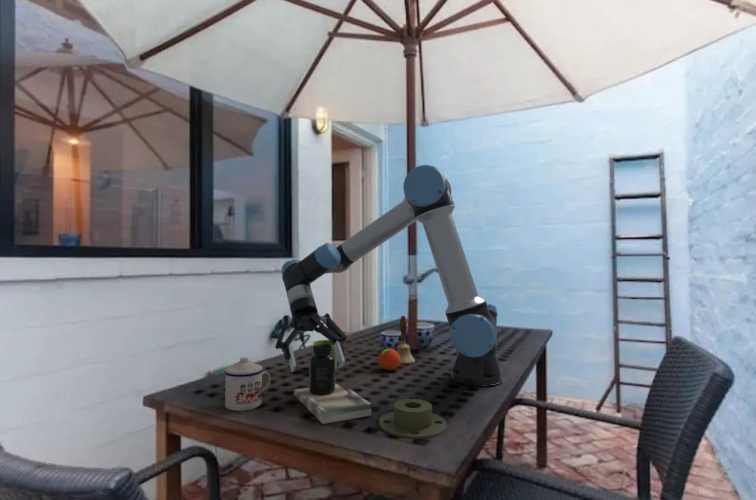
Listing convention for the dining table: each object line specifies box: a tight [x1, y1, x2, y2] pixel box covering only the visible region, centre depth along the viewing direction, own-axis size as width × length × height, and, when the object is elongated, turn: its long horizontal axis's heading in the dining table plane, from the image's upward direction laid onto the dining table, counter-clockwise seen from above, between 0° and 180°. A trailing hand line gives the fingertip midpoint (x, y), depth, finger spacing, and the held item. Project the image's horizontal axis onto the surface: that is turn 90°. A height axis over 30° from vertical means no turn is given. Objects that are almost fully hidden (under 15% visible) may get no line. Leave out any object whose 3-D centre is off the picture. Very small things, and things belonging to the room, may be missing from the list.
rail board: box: [293, 383, 372, 425], centre depth 108 cm, size 22×12×3 cm, turn 27°
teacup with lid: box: [224, 356, 272, 412], centre depth 108 cm, size 12×9×12 cm
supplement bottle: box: [308, 344, 336, 395], centre depth 114 cm, size 7×7×12 cm
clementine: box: [378, 347, 400, 371], centre depth 141 cm, size 8×7×7 cm
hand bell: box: [396, 315, 416, 365], centre depth 154 cm, size 8×8×16 cm
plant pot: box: [312, 339, 338, 370], centre depth 142 cm, size 9×9×9 cm
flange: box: [378, 398, 448, 440], centre depth 96 cm, size 5×15×15 cm
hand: (318, 366), depth 115 cm, fingers open, 13 cm apart
